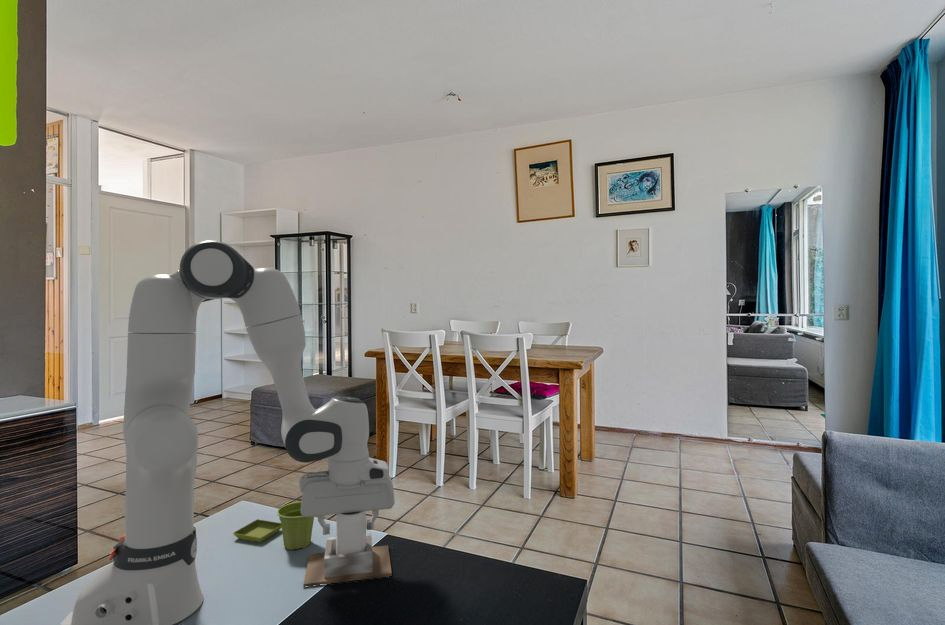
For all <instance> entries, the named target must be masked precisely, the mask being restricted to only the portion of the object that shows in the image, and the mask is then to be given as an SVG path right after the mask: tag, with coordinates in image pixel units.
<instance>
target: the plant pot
mask: <svg viewBox="0 0 945 625" xmlns="http://www.w3.org/2000/svg"><path fill="white" fill-rule="evenodd" d="M276 513H277V516H278V517H279V521H280V523H281V526H282V528H281V532H282V540H283V545H284V548H285V549H287V550H291V549H296V550H299V549H300V548H303V549H304V548H306V547H308V546H310V544H311V541H312V540H311V539H312V536H313V534H312V533H313V526H314V520H315V516H312V517H304V516H303V515H302V514H301V501H295V502H291V503H287V504H285V505H282V506H281V507H279V508H278V509H277V512H276Z"/></svg>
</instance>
